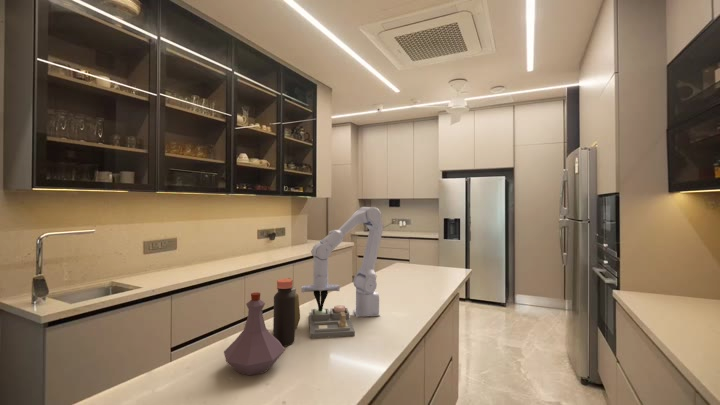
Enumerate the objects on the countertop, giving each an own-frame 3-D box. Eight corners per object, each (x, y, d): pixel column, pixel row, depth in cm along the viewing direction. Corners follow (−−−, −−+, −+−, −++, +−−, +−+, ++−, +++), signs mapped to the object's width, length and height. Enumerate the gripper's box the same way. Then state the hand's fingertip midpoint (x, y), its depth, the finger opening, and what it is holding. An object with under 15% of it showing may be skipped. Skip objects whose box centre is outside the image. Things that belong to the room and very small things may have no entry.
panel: (346, 314, 133) (346, 305, 133) (354, 335, 111) (354, 325, 111) (309, 316, 131) (309, 307, 131) (310, 338, 109) (310, 327, 109)
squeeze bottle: (304, 326, 119) (305, 277, 120) (291, 334, 112) (291, 281, 112) (286, 322, 123) (287, 275, 123) (272, 330, 116) (273, 279, 116)
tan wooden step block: (346, 322, 119) (346, 311, 119) (348, 328, 114) (348, 315, 114) (337, 323, 118) (338, 311, 118) (339, 328, 113) (339, 316, 113)
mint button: (325, 313, 128) (325, 308, 128) (326, 317, 124) (326, 312, 124) (314, 314, 127) (314, 308, 127) (314, 317, 123) (314, 312, 123)
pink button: (344, 310, 129) (344, 305, 129) (345, 313, 125) (346, 308, 125) (333, 310, 128) (333, 305, 128) (334, 314, 124) (334, 309, 124)
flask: (262, 347, 101) (263, 283, 101) (297, 365, 91) (298, 293, 91) (210, 368, 88) (211, 294, 89) (243, 390, 78) (245, 306, 78)
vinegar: (268, 344, 103) (269, 281, 104) (281, 336, 110) (281, 277, 110) (287, 348, 101) (288, 283, 101) (298, 339, 108) (299, 279, 108)
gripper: (301, 277, 120) (301, 314, 120) (340, 276, 123) (340, 312, 123) (301, 273, 127) (301, 308, 127) (338, 272, 130) (338, 306, 130)
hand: (320, 310), depth 125 cm, fingers closed
